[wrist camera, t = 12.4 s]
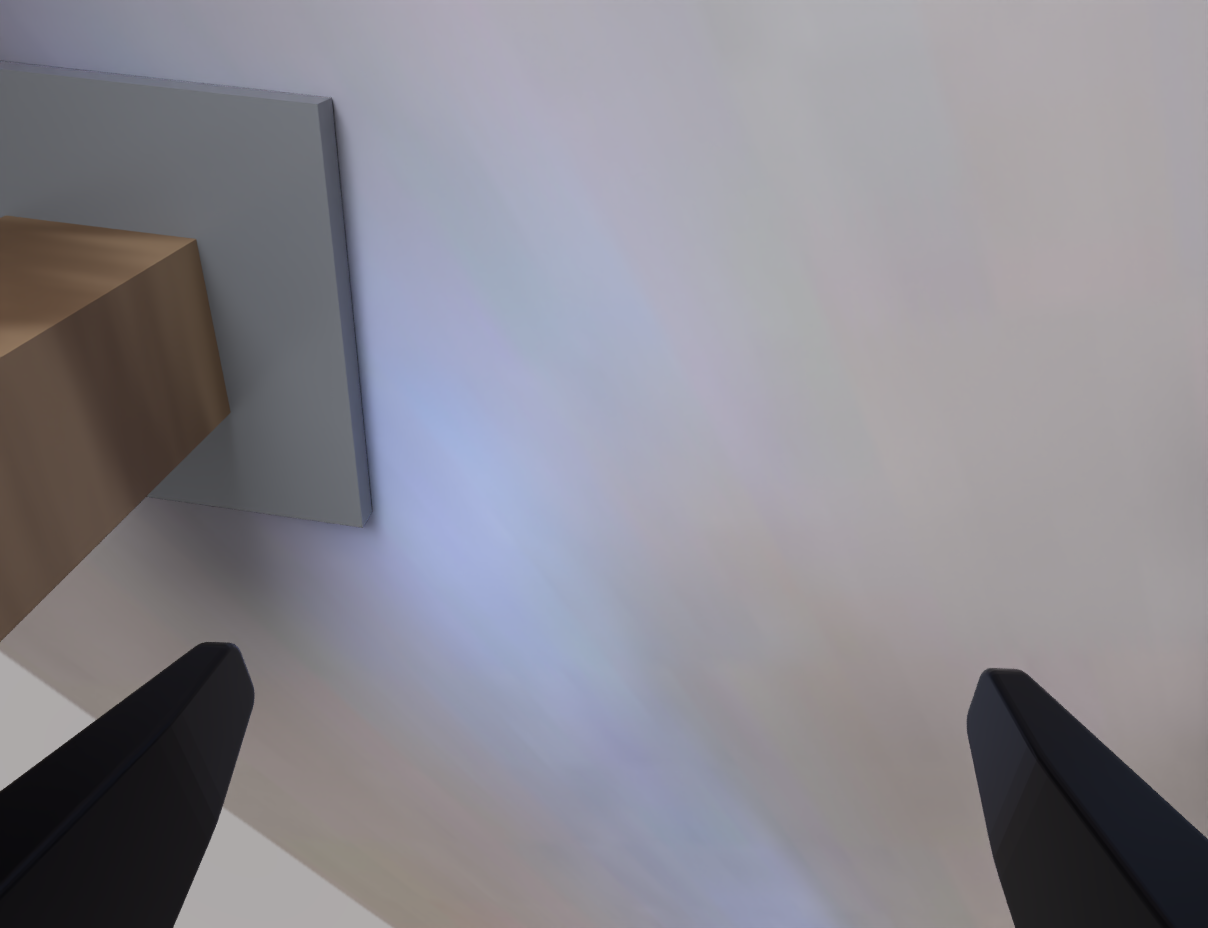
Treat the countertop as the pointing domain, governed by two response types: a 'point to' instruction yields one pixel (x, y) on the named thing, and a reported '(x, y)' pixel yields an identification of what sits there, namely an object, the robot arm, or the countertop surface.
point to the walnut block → (93, 389)
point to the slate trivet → (219, 260)
